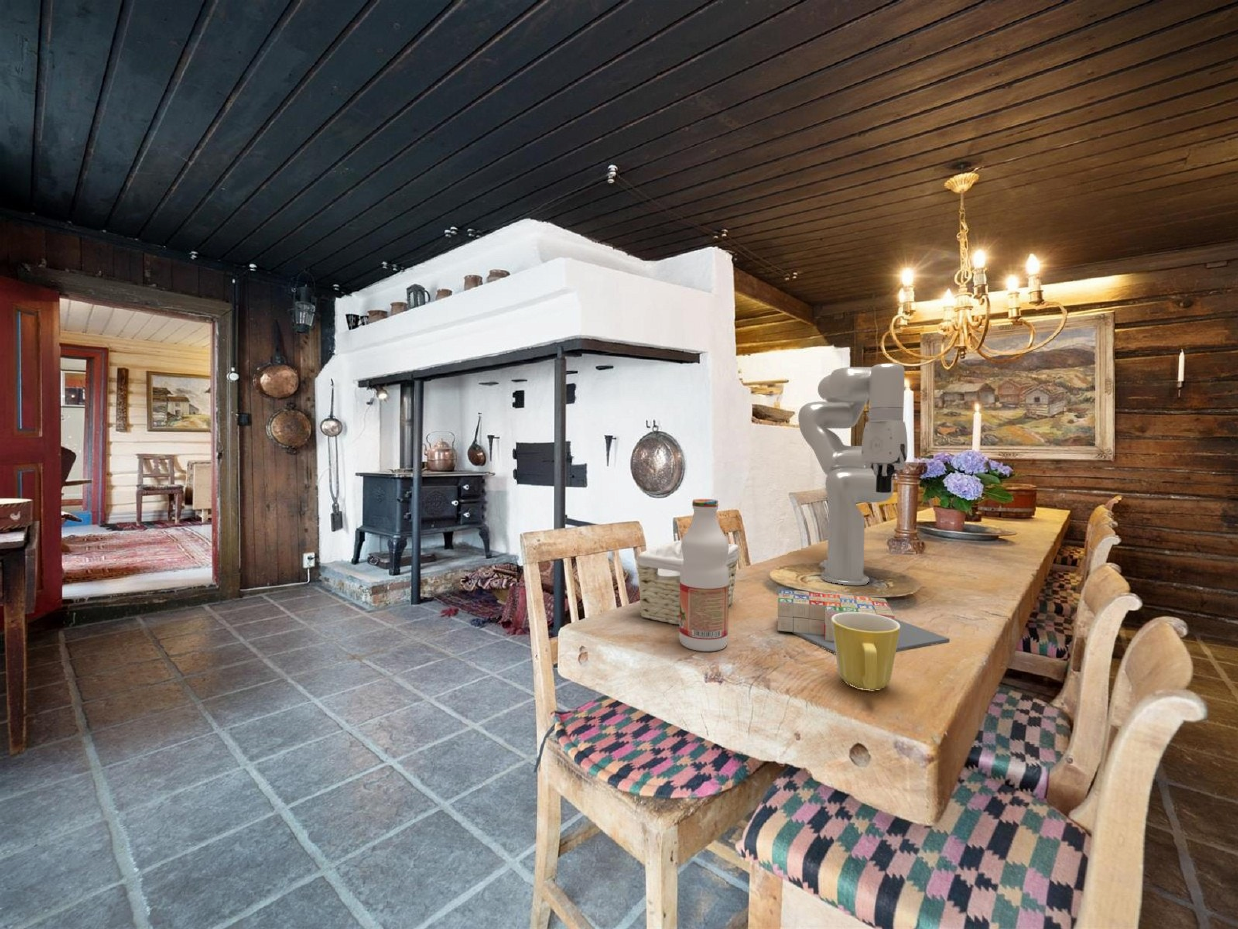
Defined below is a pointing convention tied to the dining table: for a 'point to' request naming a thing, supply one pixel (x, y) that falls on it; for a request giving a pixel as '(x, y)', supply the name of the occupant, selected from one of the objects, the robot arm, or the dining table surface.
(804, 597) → the stack of blocks
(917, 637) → the rubber mat
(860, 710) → the dining table surface
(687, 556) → the fruit juice
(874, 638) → the mug
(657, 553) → the storage basket
